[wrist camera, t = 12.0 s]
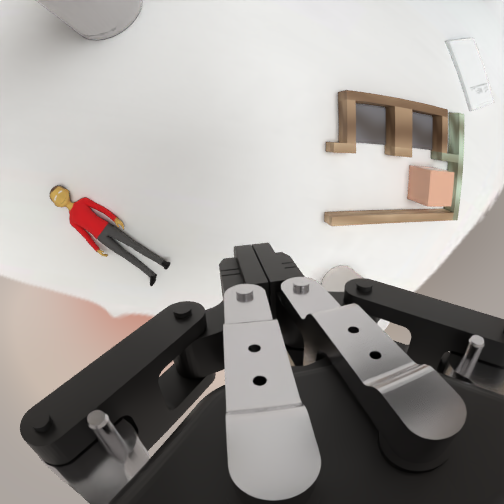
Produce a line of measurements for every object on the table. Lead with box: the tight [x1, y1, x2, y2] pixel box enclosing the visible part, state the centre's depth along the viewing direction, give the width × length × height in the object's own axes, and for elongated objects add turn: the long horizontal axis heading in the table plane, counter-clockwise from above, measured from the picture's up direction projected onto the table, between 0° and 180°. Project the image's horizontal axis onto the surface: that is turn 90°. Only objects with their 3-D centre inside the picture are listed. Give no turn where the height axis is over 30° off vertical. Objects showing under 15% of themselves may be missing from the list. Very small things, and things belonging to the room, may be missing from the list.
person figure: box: [50, 186, 170, 286], centre depth 34 cm, size 5×4×18 cm
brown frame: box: [324, 90, 464, 226], centre depth 37 cm, size 17×23×2 cm
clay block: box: [407, 165, 454, 206], centre depth 38 cm, size 5×5×5 cm
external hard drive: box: [445, 38, 494, 111], centre depth 34 cm, size 2×8×12 cm
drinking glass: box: [321, 266, 390, 331], centre depth 39 cm, size 7×7×10 cm
